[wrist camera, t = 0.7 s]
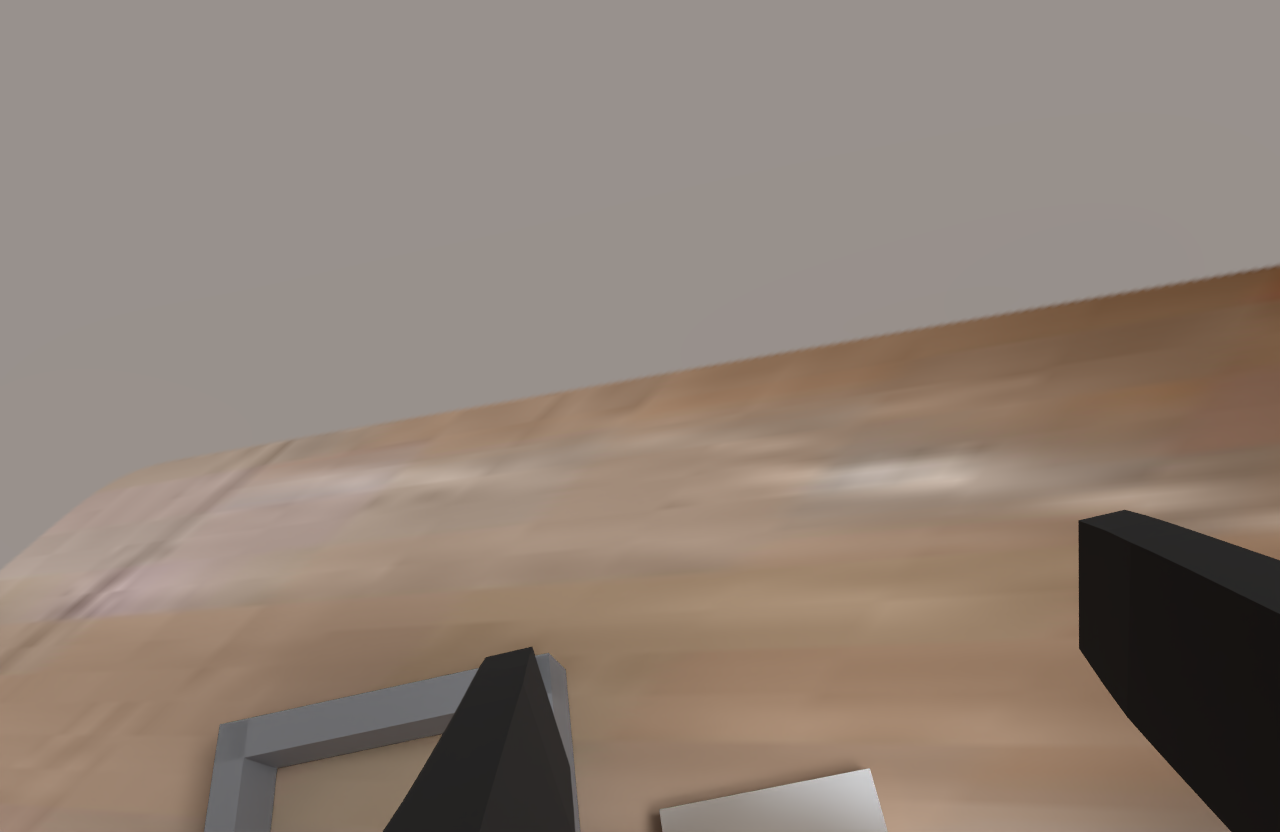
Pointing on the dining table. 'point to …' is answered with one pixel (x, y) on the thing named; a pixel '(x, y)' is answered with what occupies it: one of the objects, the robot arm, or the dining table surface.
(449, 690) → the bay
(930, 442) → the dining table surface
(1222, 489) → the dining table surface
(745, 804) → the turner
